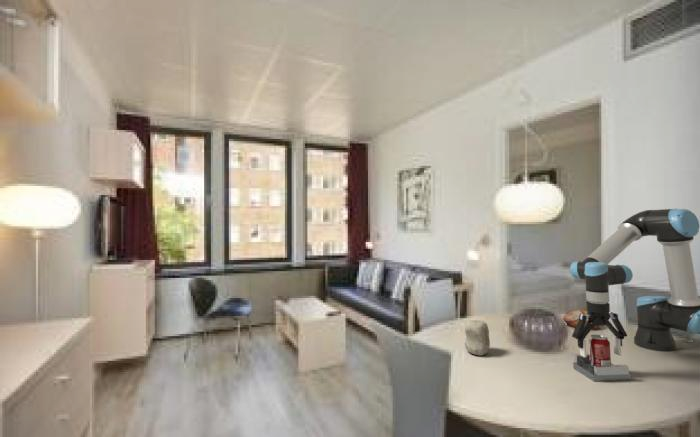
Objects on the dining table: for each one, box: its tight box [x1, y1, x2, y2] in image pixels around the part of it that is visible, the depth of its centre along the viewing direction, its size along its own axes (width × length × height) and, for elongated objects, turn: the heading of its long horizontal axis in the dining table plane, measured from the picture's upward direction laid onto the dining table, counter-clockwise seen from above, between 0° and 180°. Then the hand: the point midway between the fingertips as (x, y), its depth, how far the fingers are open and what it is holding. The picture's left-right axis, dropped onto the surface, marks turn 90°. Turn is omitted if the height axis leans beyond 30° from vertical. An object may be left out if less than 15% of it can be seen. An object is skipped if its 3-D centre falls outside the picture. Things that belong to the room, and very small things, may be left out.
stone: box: [464, 319, 491, 356], centre depth 166 cm, size 11×11×15 cm
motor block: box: [572, 353, 631, 382], centre depth 140 cm, size 14×13×6 cm
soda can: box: [588, 334, 612, 367], centre depth 140 cm, size 7×7×12 cm
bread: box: [562, 308, 601, 331], centre depth 201 cm, size 16×20×10 cm
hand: (600, 355), depth 140 cm, fingers open, 13 cm apart
